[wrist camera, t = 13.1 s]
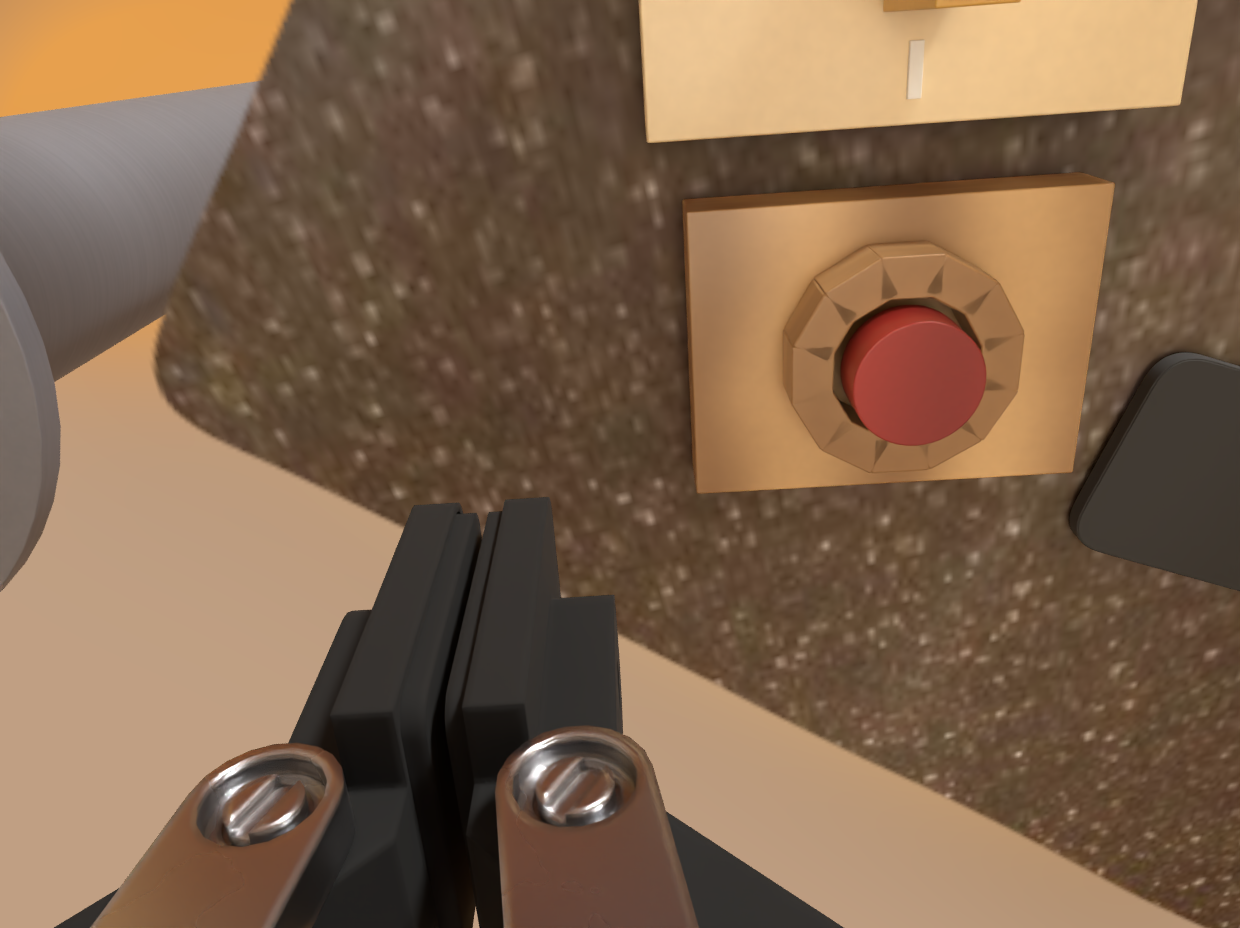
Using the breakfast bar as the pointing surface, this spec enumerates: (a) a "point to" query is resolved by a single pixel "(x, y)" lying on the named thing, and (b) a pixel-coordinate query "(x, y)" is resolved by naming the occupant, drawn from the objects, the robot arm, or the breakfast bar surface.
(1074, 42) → the dial plate
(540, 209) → the breakfast bar surface
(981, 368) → the bell button
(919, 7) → the red-tipped yellow block
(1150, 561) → the phone
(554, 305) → the breakfast bar surface
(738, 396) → the wooden button base
